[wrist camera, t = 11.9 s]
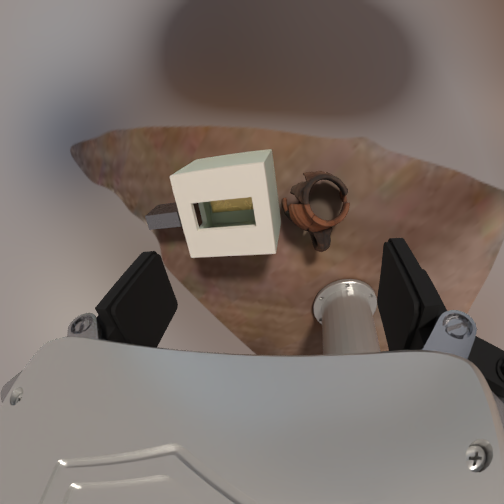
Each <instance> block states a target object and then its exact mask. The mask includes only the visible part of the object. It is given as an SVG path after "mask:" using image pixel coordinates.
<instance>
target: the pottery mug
mask: <svg viewBox="0 0 504 504" xmlns="http://www.w3.org/2000/svg"><path fill="white" fill-rule="evenodd" d="M303 175H305V178H306V182H300V183H298V184H297V185H295V186H293V187H292V189H291V192H290V193H291V194H293V195H295V197H296V198H297V199H298V200H299V201H300V202H301V204H290V205H289V207H288V208H289V210H288V208H287V199H286V198H283V199H282V205H283V209H284V211H285V214H286V215H287V217H288V218H289V219H290V220H291V221H292V222H293V223H295V224H296V225H297V226H298V227H300V228H301V229H303V230H305V231H308V232H309V233H310V235H311V239H312V243H313V246H314V248H315V250H317V251H319V252H323V251H325V250H327V249H328V248H329V246H330V242H331V239H330V233H331V231H332V227H331V226H335V225H336V224H338V223H340V222H341V221H342V220H343V219H344V218H345V217H346V215H347V213H348V211H349V206H350V203H348V202H347V196H346V195H347V193H348V189H347V188H346V186H345V184H344V183H343V182H342V181H341V180H340V179H339V178H337V177H336V176H333V175H332V174H330V173H328V172H326V173H325V172H323V171H316V172H306V173H303ZM319 180H329V181H332V182H333V183H335V184H336V185H337V186H338V188H339V189H340V192H339V194H340V198H341V200H342V202H343V206H342V210H341V212H340V214H339V215H338V216H337V217H336V218H335V219H332V220H322V219H320V218H318V217H317V216H316V215H315V214H314V213H313V211H312V210H311V207H310V204H309V192H310V189H311V187H312V186H313V185H314V183H316V182H317V181H319Z"/></svg>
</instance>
